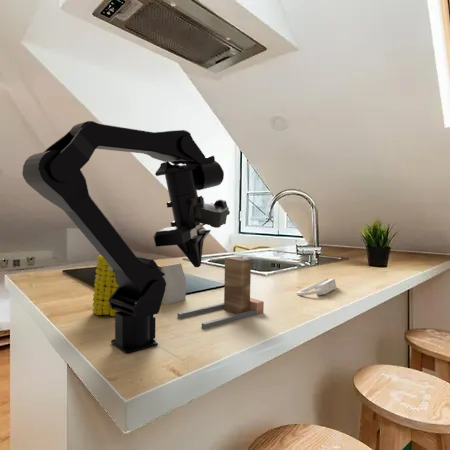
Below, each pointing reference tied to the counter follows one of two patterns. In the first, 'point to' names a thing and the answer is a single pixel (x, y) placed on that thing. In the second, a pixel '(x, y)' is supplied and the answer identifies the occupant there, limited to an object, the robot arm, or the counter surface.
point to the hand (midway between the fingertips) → (197, 266)
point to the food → (104, 288)
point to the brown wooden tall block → (237, 284)
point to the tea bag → (174, 284)
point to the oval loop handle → (319, 288)
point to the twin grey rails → (255, 309)
